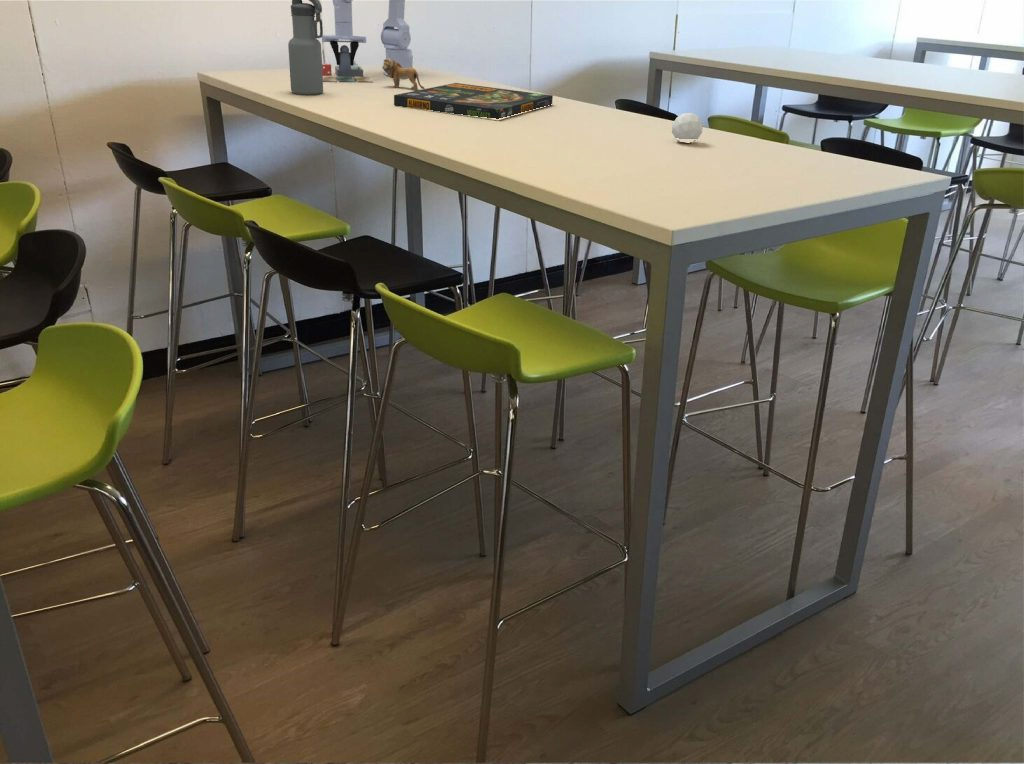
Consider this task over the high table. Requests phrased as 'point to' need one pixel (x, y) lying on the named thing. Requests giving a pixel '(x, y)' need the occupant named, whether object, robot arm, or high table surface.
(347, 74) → the dome frame
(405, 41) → the robot arm
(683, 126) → the geometric ball
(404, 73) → the lion figurine
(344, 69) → the pawn
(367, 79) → the track
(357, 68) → the dome
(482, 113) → the board game box
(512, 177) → the high table surface
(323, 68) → the red die
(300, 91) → the water bottle
